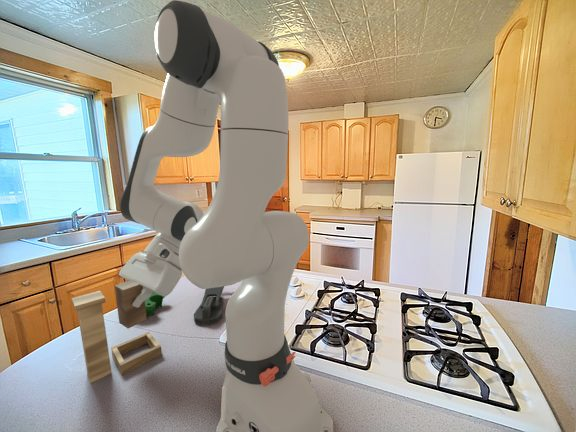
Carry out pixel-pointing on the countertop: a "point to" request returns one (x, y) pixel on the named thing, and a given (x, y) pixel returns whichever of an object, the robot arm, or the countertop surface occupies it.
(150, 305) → the clamp
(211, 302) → the zipper pull
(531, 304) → the countertop surface
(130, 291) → the wooden block
